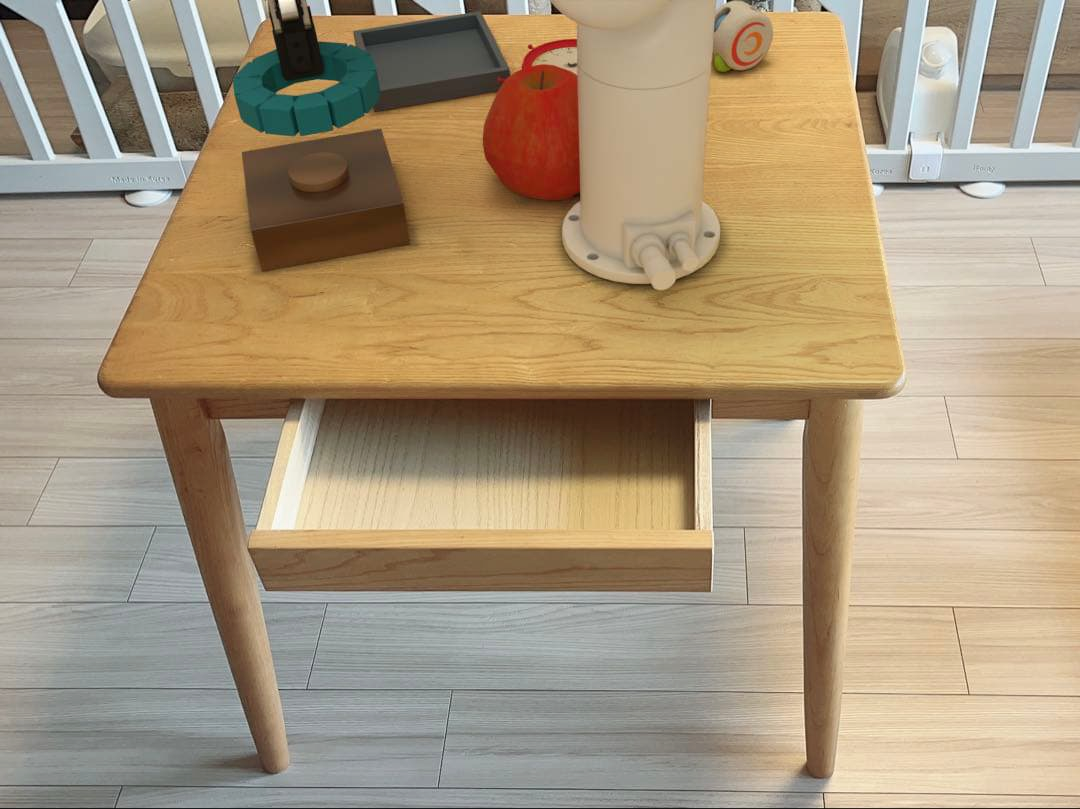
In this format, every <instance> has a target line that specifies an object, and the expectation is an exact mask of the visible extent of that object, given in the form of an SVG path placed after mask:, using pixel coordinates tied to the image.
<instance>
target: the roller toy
mask: <svg viewBox="0 0 1080 809" xmlns="http://www.w3.org/2000/svg"><path fill="white" fill-rule="evenodd" d="M773 37H774V27H773V23H772V20H771V19H770V18H769V17H768V16H767V15H766V14H764V13H762V12H760V11H759V10H758V9H757V8H756V7H755V6H753V5H751V4H749V3H747V2H746V1H743V0H731V1H728V2H725V3H724V4H722V5H721V6H719V7H718V8H716V11H715V23H714V37H713V52H712V57H714V59H713V65H714V68H715V69H716V70H717V71H718V72H720V73H727V72H729V71H730V70H731V69H732V70H734V71H745V70H749V69H751V68H753V67H755V66H756V65H758V64H759V63H760V62H761V61H762V60H763V59H764V58H765V57H766V55H767V53H768V52H769V50H770V47H771V46H772V42H773Z"/></svg>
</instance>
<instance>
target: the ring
mask: <svg viewBox="0 0 1080 809" xmlns="http://www.w3.org/2000/svg"><path fill="white" fill-rule="evenodd" d="M318 44H319V49H320V54H321V58H322V63H323V68H324V73H323V74H322V75H318V76H313V77H307V78H301V79H296V80H290V81H287V80H285V79H284V77H283V74H282V70H281V66H280V61H279V57H278V53H277V49H276V48H275V49H273V50H271V51H268V52H266V53H264V54H261V55H259V56H257V57H255V58H252V60H251V61H247V62H246V64H245V65H243V67H241V69H240V70H238V72H237V73H236V74H235V75H234V76H233V79H232V86H233V88H232V89H233V95H234V99H235V102H236V103H235V104H236V106H237V110H238V113H239V118H240V120H242V123H243V124H244V125H245V124H246V125H247V126H249V127H251V128H252V129H254V130H256V131H257V132H259V133H265V134H266V135H275V136H286V137H296V136H297V135H298V134H299V136H300V137H305V136H311V135H315V134H321V133H327V132H333V131H334V127H335V128H337V129H342V128H344V127H345V126H347V125H349V124H351V123H353V122H356V121H358V120H359V119H361V118H364V117H365V114H369V113H370V112H371V110H372V109H374V108H373V106H374V105H375V104H376V102H377V101H378V100H379V98H380V95H381V92H380V86H379V81H378V75H377V69H376V66H375V63H374V60H373V57H372V55H370V53H368V52H366V51H364V50H362V49H360V48H358V47H356V45H353V44H349V45H348V43H347V42H333V41H320V40H318ZM316 80H319V81H330V82H331V81H332V82H337V83H335V84H333V85H331V86H328V87H327V88H324V89H322V90H320V91H314V92H309V93H303V94H298V95H294V94H284V93H283V94H281V93H278V92H279V91H281V90H283V89H286V88H288V87H290V86H293V85H294V84H299V83H305V82H311V81H316Z"/></svg>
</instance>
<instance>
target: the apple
mask: <svg viewBox="0 0 1080 809" xmlns="http://www.w3.org/2000/svg"><path fill="white" fill-rule="evenodd" d="M482 146H483V147H482V148H483V153H484V157H485V158H484V159H485V160H486V162H487V163H488V165H489V166H490V168H491V170H492V171H493V172H494V174H495V176H496V178H498V180H499V181H500V183H501V184H502V185H503V186H504V187H505V188H506V189H509V190H510V191H512V192H514V193H516V194H519V195H522V196H526V197H530V198H534V199H540V200H547V201H562V200H568V199H570V198H572V197H574V196H576V195H579V194H580V160H579V120H578V80H577V75H576V74H575V73H573V72H571V71H569V70H566V69H563V68H560V67H557V66H554V65H547V64H541V65H535V66H531V67H527V68H524V69H522V68H521V69H519V70H517V71H515V72H513V73H511V74H510V76H509V77H508V78H507V79H506V80H505V81H504V83H503V84H502V86H501V87H500V89H499V90H498V91H496V94H495V97H494V98H493V101H492V103H491V106H490V108H489V111H488V113H487V116H486V118H485V121H484V123H483V130H482Z"/></svg>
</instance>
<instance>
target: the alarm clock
mask: <svg viewBox="0 0 1080 809" xmlns="http://www.w3.org/2000/svg"><path fill="white" fill-rule="evenodd" d="M527 49H528V50H529V51H528V52H527V53H526V54H525V56H524V58H523V59H522V63H521V70H522V69H524V68H527V67H531V66H535V65H541V64H547V65H554V66H557V67H560V68H563V69H566V70H569V71H571V72H573V73H575V74H576V75H577V38H566V39H564V38H563V39H558V40H556V39H555V40H552V41H548V42H545V43H542V44H539V45H538V46H536V47H534V46H533V44H531V43H530V44H527ZM505 80H506V79H501V78H498V83H501V82H502V81H505Z"/></svg>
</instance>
